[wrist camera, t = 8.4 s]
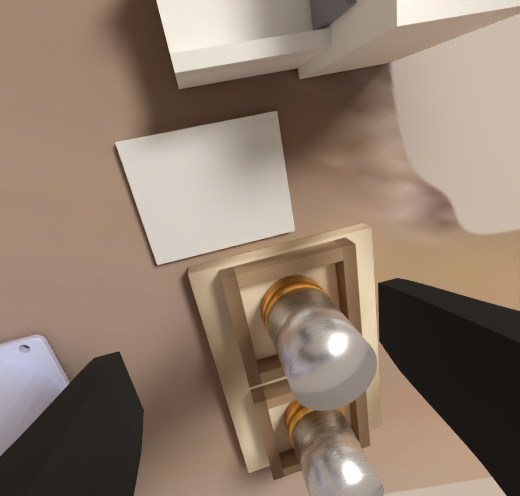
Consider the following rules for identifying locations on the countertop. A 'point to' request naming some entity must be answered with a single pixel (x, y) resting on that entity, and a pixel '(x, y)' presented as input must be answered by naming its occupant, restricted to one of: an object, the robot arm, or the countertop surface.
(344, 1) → the feeder
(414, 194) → the countertop surface
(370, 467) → the sleeve
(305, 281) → the sleeve
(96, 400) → the robot arm
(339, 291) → the seat board
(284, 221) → the mat
